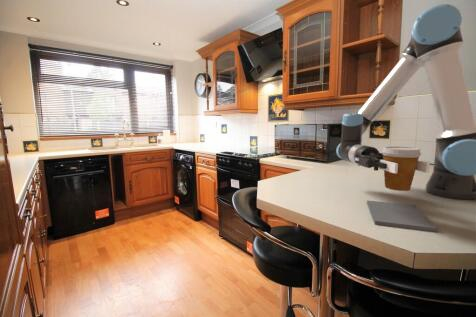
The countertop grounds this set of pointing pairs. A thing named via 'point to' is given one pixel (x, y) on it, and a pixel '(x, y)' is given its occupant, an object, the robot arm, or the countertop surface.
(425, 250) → the countertop surface
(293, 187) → the countertop surface
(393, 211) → the drip mat
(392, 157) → the disposable coffee cup
